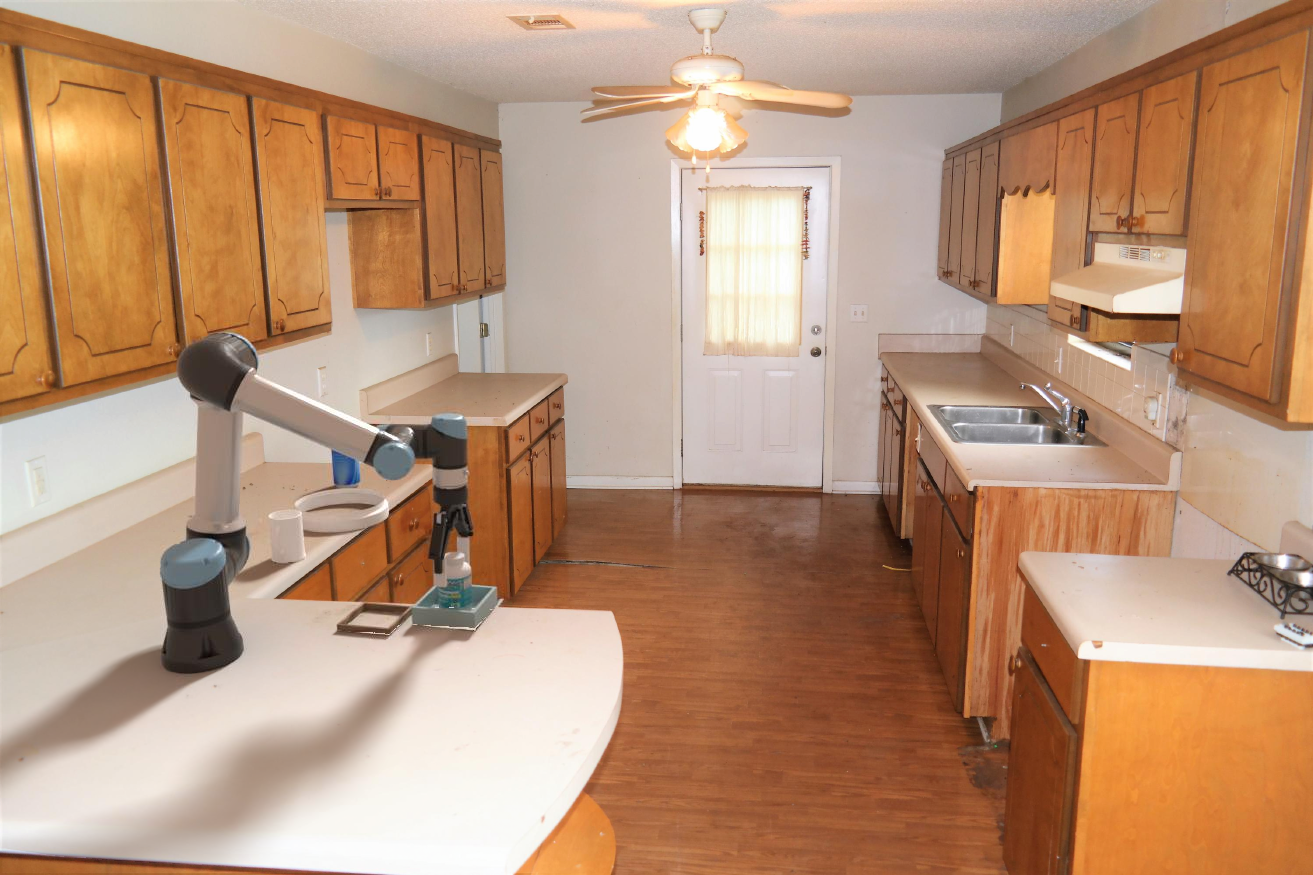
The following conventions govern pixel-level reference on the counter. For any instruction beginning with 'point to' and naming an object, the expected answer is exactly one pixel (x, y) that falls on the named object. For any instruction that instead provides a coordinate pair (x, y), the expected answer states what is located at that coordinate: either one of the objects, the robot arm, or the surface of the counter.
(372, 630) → the frame
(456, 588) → the pill bottle
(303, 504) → the white hollow ring
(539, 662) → the counter surface
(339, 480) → the beer can
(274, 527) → the mug
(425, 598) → the bin
